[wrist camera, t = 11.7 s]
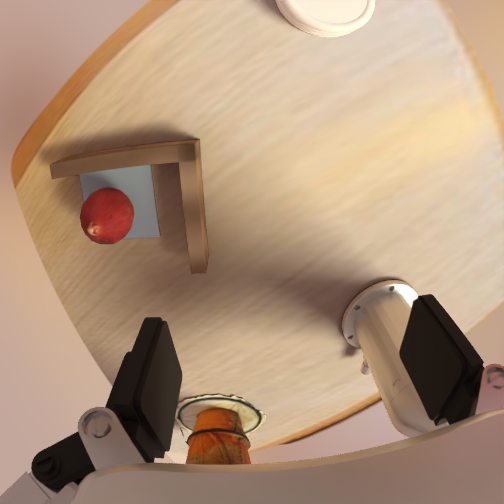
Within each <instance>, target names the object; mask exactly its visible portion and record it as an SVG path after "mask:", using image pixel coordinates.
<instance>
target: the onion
mask: <svg viewBox="0 0 504 504" xmlns="http://www.w3.org/2000/svg"><path fill="white" fill-rule="evenodd" d="M133 219H134V209H133V205H132V203H131V201H130V199H129V198H128V196H127V195H125V194H124V193H123V192H122V191H121V190H118V189H115V188H112V187H109V188H101V189H99V190H97V191H95V192H93V193H91V194H90V195H89V196H88V198H87V199H86V201H85V202H84V204H83V206H82V209H81V215H80V220H81V226H82V229H83V231H84V232H85V234H86V235H87V236H88V237H89V238H90V239H91V240H92V241H94V242H96V243H99V244H114V243H116V242H118V241H120V240H121V239H123V238H124V237H125V236H126V235H127V234H128V232H129V231H130V229H131V228H132V223H133Z"/></svg>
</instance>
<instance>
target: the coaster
mask: <svg viewBox="0 0 504 504" xmlns="http://www.w3.org/2000/svg"><path fill="white" fill-rule="evenodd" d="M275 1H276V3H277V6H278V8H279V10H280V11H281V13H282V14H283V15H284V17H285V18H286V19H287V20H288V21H289V22H290V23H291V24H293V25H294V26H295V27H297V28H299V29H300V30H302V31H304V32H307V33H309V34H312V35H316V36H321V37H338V36H342V35H346V34H348V33H350V32H352V31H354V30H356V29H358V28H360V27H361V26H363V25H364V24H365V23H366V22H367V21H368V20H369V19H370V17H371V15H372V13H373V10H374V6H375V0H275Z"/></svg>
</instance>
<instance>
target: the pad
mask: <svg viewBox="0 0 504 504" xmlns="http://www.w3.org/2000/svg"><path fill="white" fill-rule="evenodd" d="M79 178H80V183H81V189H82V194H83V200H84V202H85V201H86V199H87V198H88V196H89V195H90V194H91V193H93V192H95V191H97V190H99V189H101V188H109V187H112V188H115V189H118V190H121V191H122V192H123V193H124V194H125V195H127V196H128V198H129V199H130V201H131V203H132V205H133V209H134V219H133V223H132V228H131V229H130V231H129V232H128V234H127V235H126V236H125V237H124V238H123V239H135V238H153V237H160V230H159V224H158V217H157V210H156V202H155V195H154V187H153V179H152V170H151V165H144V166H135V167H127V168H119V169H111V170H104V171H97V172H91V173H84V174H79Z"/></svg>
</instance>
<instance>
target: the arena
mask: <svg viewBox="0 0 504 504" xmlns="http://www.w3.org/2000/svg"><path fill="white" fill-rule="evenodd" d="M174 162H179V170H180V181H181V191H182V201H183V211H184V220H185V228H186V236H187V244H188V252H189V260H190V267H191V274H193V273H206V270H207V264H208V257H209V252H208V242H207V231H206V220H205V208H204V196H203V182H202V168H201V153H200V139H193V140H181V141H170V142H161V143H152V144H144V145H136V146H129V147H122V148H115V149H109V150H102V151H97V152H91V153H85V154H80V155H75V156H70V157H66V158H64V159H61V160H59V161H57V162H55V163H53V164H50V171H51V176H52V179H56V178H61V177H67V176H72V175H78V174H84V173H91V172H97V171H104V170H111V169H119V168H127V167H135V166H144V165H153V164H163V163H174Z"/></svg>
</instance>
